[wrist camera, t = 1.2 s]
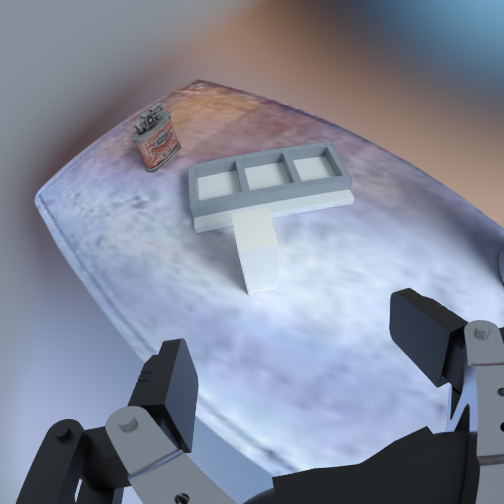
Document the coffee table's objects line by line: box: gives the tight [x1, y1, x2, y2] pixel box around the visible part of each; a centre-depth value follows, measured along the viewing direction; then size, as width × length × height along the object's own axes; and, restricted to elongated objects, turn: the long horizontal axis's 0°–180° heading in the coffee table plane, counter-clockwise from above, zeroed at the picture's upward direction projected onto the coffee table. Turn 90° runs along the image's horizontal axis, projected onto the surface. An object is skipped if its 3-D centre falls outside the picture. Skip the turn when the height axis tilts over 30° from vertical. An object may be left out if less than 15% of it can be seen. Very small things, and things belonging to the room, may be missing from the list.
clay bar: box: [231, 207, 279, 295], centre depth 29 cm, size 4×4×10 cm
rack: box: [188, 142, 354, 233], centre depth 39 cm, size 22×12×3 cm, turn 100°
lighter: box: [132, 103, 181, 173], centre depth 42 cm, size 8×3×10 cm, turn 150°
